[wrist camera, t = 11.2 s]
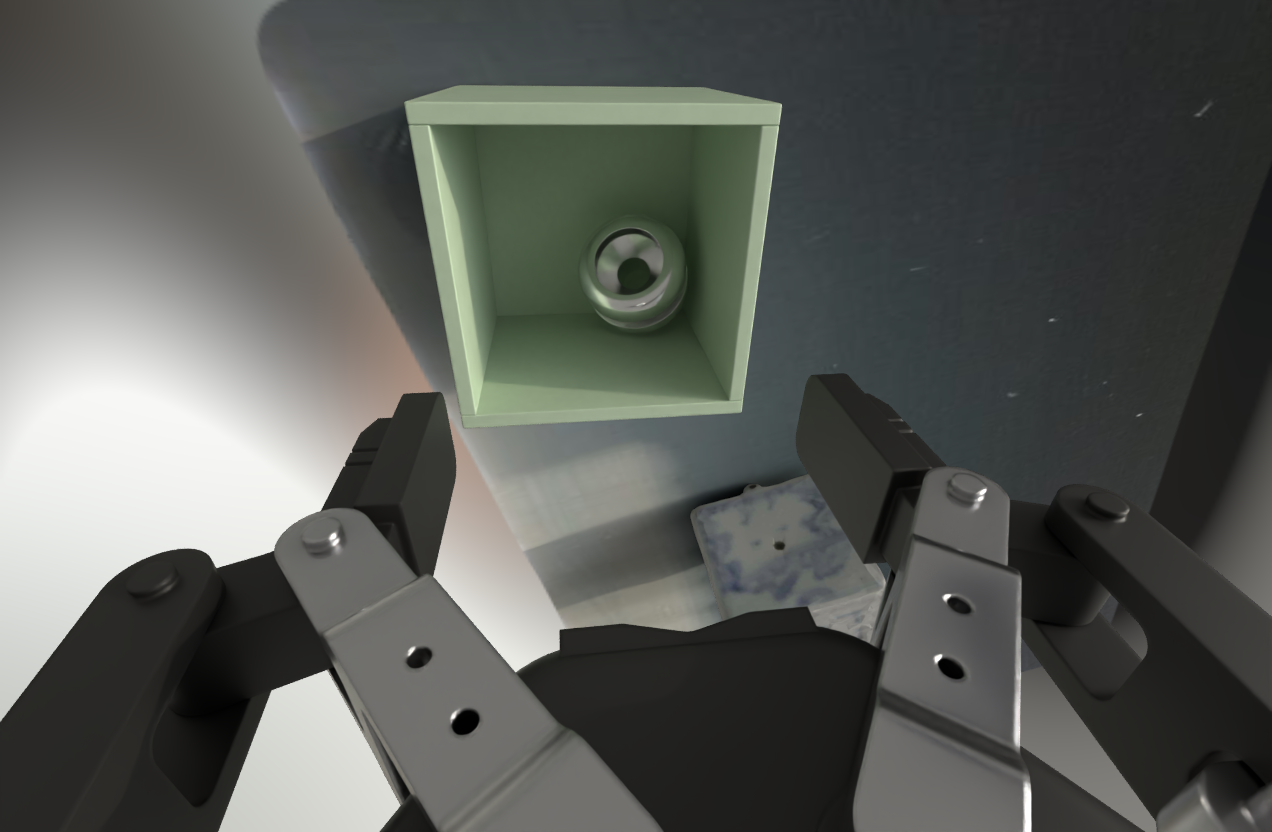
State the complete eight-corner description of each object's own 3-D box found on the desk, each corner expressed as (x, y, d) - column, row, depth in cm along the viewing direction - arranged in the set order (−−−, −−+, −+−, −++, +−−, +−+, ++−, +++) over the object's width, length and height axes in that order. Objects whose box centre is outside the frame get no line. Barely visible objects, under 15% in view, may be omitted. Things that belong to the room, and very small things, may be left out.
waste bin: (457, 85, 25) (403, 101, 16) (704, 87, 26) (782, 103, 17) (488, 320, 31) (462, 429, 22) (688, 313, 32) (741, 413, 23)
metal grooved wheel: (570, 280, 29) (630, 354, 28) (552, 257, 26) (618, 338, 25) (647, 218, 29) (710, 289, 28) (637, 186, 26) (707, 265, 25)
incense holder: (708, 574, 44) (745, 700, 36) (683, 498, 40) (720, 622, 31) (829, 538, 44) (898, 657, 35) (819, 457, 39) (894, 571, 31)
